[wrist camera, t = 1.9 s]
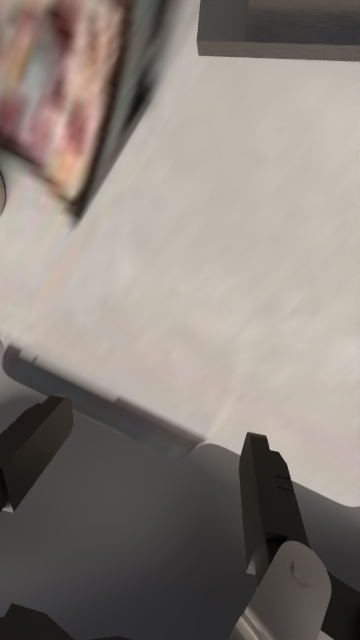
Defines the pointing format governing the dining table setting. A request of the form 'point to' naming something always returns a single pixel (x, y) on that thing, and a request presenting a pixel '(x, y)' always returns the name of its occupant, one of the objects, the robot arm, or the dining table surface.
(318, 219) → the dining table surface
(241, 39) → the dark gray pedestal stand
